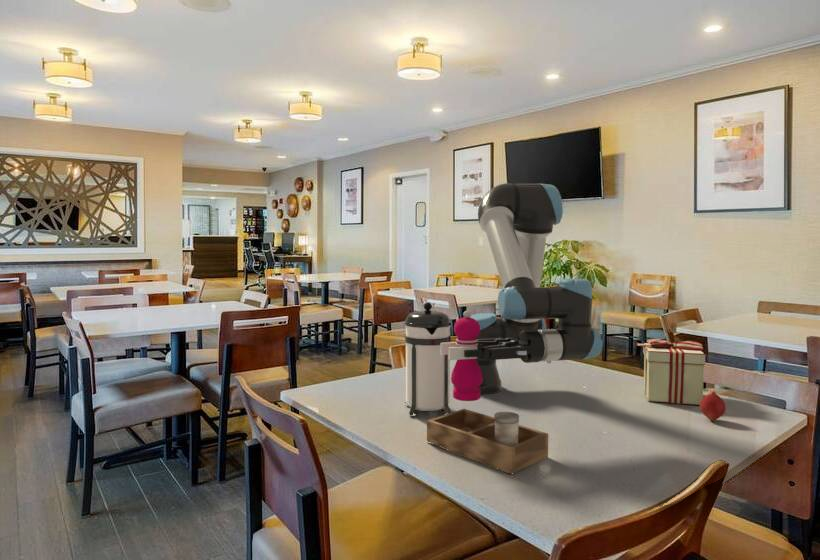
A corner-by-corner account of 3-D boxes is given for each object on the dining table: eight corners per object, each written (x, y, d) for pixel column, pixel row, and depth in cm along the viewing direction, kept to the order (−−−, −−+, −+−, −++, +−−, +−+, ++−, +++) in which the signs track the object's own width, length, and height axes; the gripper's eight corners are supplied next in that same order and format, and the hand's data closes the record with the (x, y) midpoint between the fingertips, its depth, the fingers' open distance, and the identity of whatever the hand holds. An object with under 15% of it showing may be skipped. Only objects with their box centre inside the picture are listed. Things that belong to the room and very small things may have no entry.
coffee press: (468, 409, 151) (468, 301, 149) (430, 423, 140) (430, 307, 138) (421, 397, 163) (421, 297, 161) (383, 409, 152) (382, 301, 149)
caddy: (426, 442, 126) (426, 403, 126) (464, 429, 135) (464, 392, 135) (511, 474, 109) (512, 429, 108) (548, 457, 118) (548, 415, 117)
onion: (694, 417, 144) (695, 387, 143) (715, 416, 145) (716, 387, 144) (708, 424, 138) (709, 393, 138) (730, 424, 139) (731, 393, 138)
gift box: (690, 389, 171) (692, 335, 170) (708, 407, 153) (710, 346, 152) (632, 386, 175) (634, 333, 174) (643, 403, 157) (645, 344, 156)
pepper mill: (481, 402, 121) (482, 313, 119) (448, 401, 122) (449, 312, 121) (483, 394, 128) (484, 309, 126) (452, 392, 129) (453, 308, 128)
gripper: (558, 370, 120) (458, 377, 114) (520, 354, 138) (432, 359, 132) (558, 336, 120) (459, 341, 114) (521, 324, 137) (432, 328, 131)
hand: (445, 351), depth 123 cm, fingers closed on pepper mill, 5 cm apart
